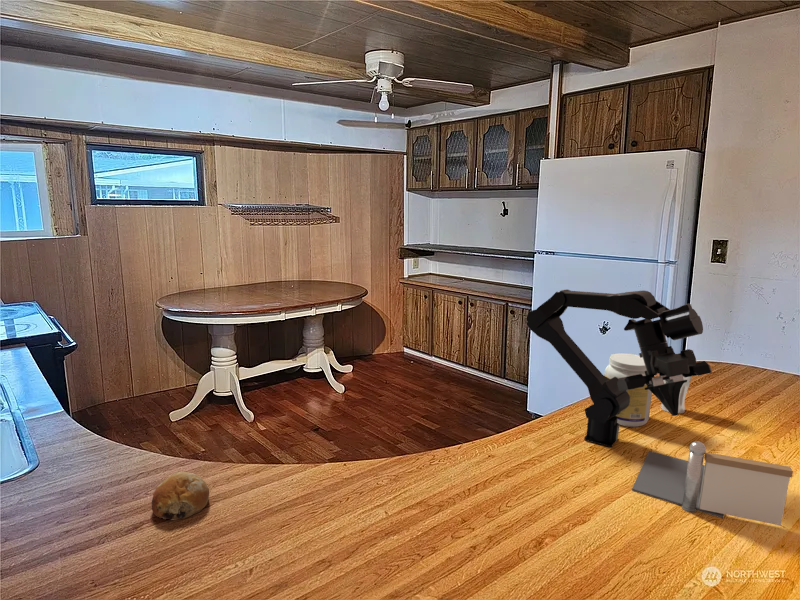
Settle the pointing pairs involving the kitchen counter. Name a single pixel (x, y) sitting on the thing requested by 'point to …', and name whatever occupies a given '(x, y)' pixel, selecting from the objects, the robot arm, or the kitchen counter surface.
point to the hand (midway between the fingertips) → (675, 415)
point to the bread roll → (180, 496)
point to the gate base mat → (666, 479)
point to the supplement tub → (639, 397)
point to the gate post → (693, 476)
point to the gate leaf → (744, 488)
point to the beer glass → (680, 396)
